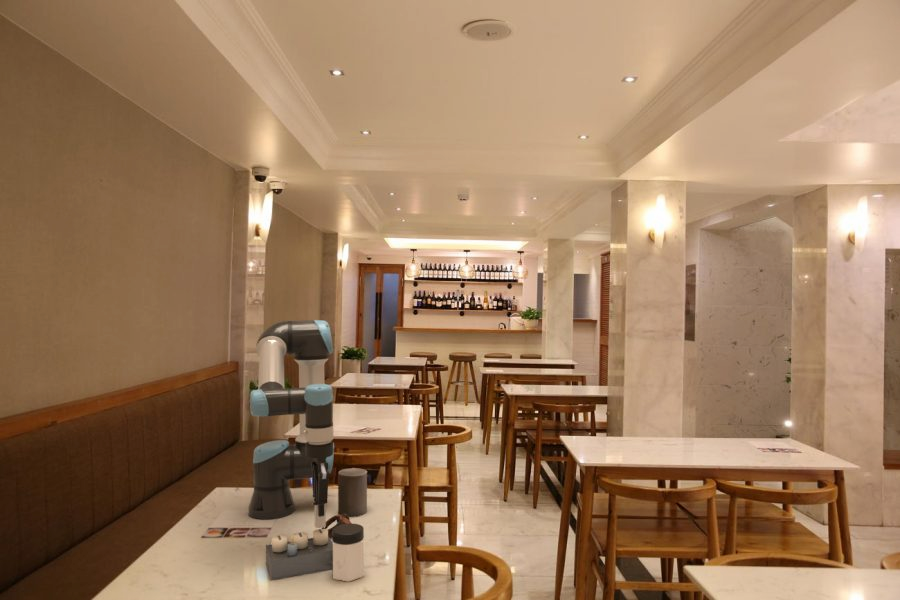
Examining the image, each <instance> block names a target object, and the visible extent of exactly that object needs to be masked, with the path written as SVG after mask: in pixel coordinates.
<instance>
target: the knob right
mask: <svg viewBox="0 0 900 600" xmlns="http://www.w3.org/2000/svg"><path fill="white" fill-rule="evenodd" d="M312 538H313V544H314V545H318V546H321V545H325V544H327V543H328V529H321V528H316V529H314V530H313V532H312Z"/></svg>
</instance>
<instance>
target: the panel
mask: <svg viewBox="0 0 900 600" xmlns="http://www.w3.org/2000/svg"><path fill="white" fill-rule="evenodd" d="M290 543H291V540H290V541H287V550H285V551H283V552H279V553H277V552H273V551H272V543H271V544H266V545H265V565H266V568H267V571H268V574H269V577H270V580H271V581H274V579H275V580H280V579H285V577H286V578H290V577H296V576H302V575H307V574H312V573H317V572H318V571H319V572H323V571H322V570H324V571H329V570H333V541H332V540H331V538H329V537H328V543H327V544H325V545H321V546H318V545H314V544H313V537H308V546H307V547H306V548H303V549H297V555H294V556H289V555H288V544H290Z"/></svg>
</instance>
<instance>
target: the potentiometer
mask: <svg viewBox="0 0 900 600" xmlns="http://www.w3.org/2000/svg"><path fill="white" fill-rule="evenodd" d="M290 541H291V543H290V544H288V555H289V556H294V555H297V543H294V537H293V536H290Z"/></svg>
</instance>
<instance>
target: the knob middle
mask: <svg viewBox="0 0 900 600" xmlns="http://www.w3.org/2000/svg"><path fill="white" fill-rule="evenodd" d="M308 535H309V533H307V532H305V531H303V532H302V531H300V532H296V533H294V534H292V537H294V543H297V549H303V548H306V547H307V546H308V538H309V536H308Z"/></svg>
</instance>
